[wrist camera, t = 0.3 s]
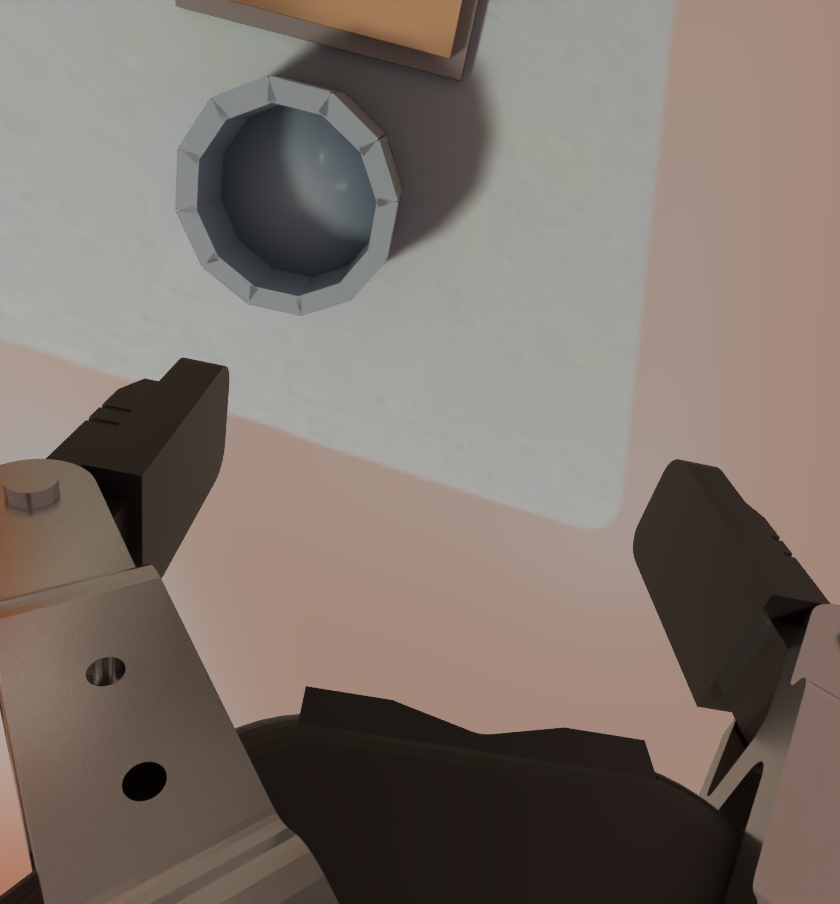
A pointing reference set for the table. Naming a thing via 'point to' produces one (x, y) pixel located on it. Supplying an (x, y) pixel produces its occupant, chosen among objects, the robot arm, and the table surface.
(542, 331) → the table surface
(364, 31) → the lid
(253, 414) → the table surface
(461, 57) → the mat
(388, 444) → the table surface
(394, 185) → the bowl
